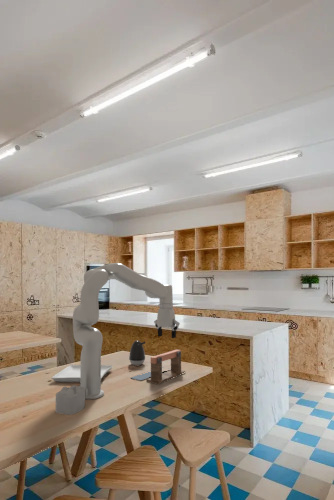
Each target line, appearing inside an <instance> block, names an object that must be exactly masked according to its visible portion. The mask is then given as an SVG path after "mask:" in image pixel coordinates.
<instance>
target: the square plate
mask: <svg viewBox="0 0 334 500" xmlns="http://www.w3.org/2000/svg"><path fill="white" fill-rule="evenodd" d="M113 367H114V365H111V364H110V365H109V364H101V379H102V378H103V377H104V376H105V375H106V374H107V373H108V372H110V370H112V368H113ZM80 369H81V364H72V365H71V364H70V365H68V366H67V367H65V368H63V369H62V370H60V371H59V372H57V373H56V374H55V375H53V376H52V377H51V379H52V380H53V381H56V382H63V383H80Z"/></svg>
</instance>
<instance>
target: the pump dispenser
mask: <svg viewBox="0 0 334 500" xmlns="http://www.w3.org/2000/svg"><path fill="white" fill-rule="evenodd" d="M145 344H146V341H143V342H141V341H140V340H134V341H133V343H132V345H131V347H130V351H129V356H128V360H129V362H130V364H132V366H135V365H139V366H142V365H143V364H144V363H145V360H146V353H145V348H144V345H145ZM141 364H142V365H141Z"/></svg>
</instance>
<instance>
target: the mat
mask: <svg viewBox="0 0 334 500" xmlns="http://www.w3.org/2000/svg"><path fill="white" fill-rule="evenodd" d="M147 372H148V371H147ZM144 373H145V372H144ZM141 374H142V375H140V374H137V375H134V376H131V377H130V378H132V379H131V380H134V379H136V380H135V381H139V380H140V381H139V382H142V381H141V380H143V381H145V380H147V378H148V379H149V377H151V372H148V373H145V374H143V373H141ZM144 379H145V380H144Z"/></svg>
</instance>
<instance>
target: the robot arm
mask: <svg viewBox="0 0 334 500" xmlns="http://www.w3.org/2000/svg"><path fill="white" fill-rule="evenodd" d="M110 280H115V281H118V282H119V283H122V284H124V285H125V286H127V287H130V288H132V289H135V290H139V291H144V292H145V296H146V297H148V298H150V299H159V302H158V307H159V308H158V310H157V314H156V315H157V316H156V318H157V319H156V320H154V321H153V323H154V326H155V327H156V329H157V336H158V338H159V337H163V329H162V328H170V329H171V339H175V338H177V331H178V329H179V327H180V322H179V321H178V320H176V315H175V314H176V313H175V310H174V307H173V305H174V303H173V285H172V284H163V283H161V282H159V281H158V280H156V279H153V278H152V277H148V276H146V275H143V274H141V273H138V272H137V271H135V270H134V269H132V268H129V267H128V266H127V265H124V264H123V263H119V262H114V263H113V262H112V263H106V264H105V265H101V266H99V267H94V268H92V269H89V270H87V271H86V272H85V273H84V274H83V282H84V284H83V285H82V287H81V290H80V297H79V300H80V301H79V302H80V303H79V304H78V305H77V306H76V307H75V308H74V310H73V313H72V329H73V331H72V332H73V340H74V341H75V343H76V344H78V345H80V346H82V347H81V352H80V365H81V369H80V382H79V386H81V387H83V388H85V400H96V399H100V398H102V397H103V396H104V394H105V391H104V390H103V389H102V388H101V387H102V386H101V384H102V383H101V382H102V381H101V380H102V378H101V365H102V364H101V363H102V348H103V347H102V346H103V340H104V339H103V334H102V332H101V331H100V330H99V329H98V328H95V327H92V326H93V325H96V324H97V323H98V322H99V319H100V309H99V294H100V291H101V289H102V288H103V287H104V286H106V284H107V283H108V281H110Z"/></svg>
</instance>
